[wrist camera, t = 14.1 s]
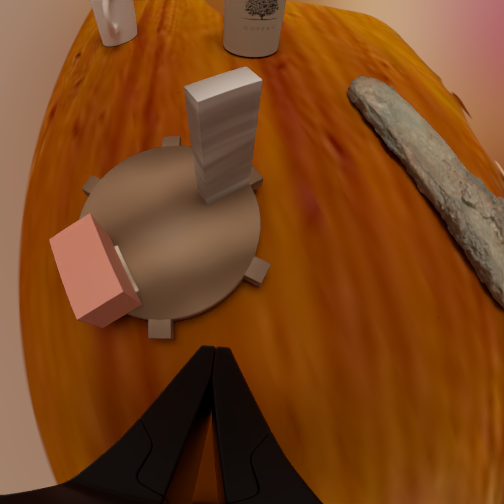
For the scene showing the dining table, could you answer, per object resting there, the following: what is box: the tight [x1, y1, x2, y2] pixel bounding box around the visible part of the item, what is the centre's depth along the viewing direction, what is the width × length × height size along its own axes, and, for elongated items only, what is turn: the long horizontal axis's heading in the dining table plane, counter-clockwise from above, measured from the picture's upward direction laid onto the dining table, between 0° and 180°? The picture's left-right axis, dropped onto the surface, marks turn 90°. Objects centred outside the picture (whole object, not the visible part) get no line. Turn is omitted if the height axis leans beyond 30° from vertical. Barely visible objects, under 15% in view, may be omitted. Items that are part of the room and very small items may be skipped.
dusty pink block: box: [50, 213, 142, 328], centre depth 18 cm, size 4×6×4 cm, turn 33°
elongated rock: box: [348, 76, 504, 308], centre depth 27 cm, size 35×5×10 cm
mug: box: [91, 0, 137, 46], centre depth 30 cm, size 10×7×12 cm, turn 12°
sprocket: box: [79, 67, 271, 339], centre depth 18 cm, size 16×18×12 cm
